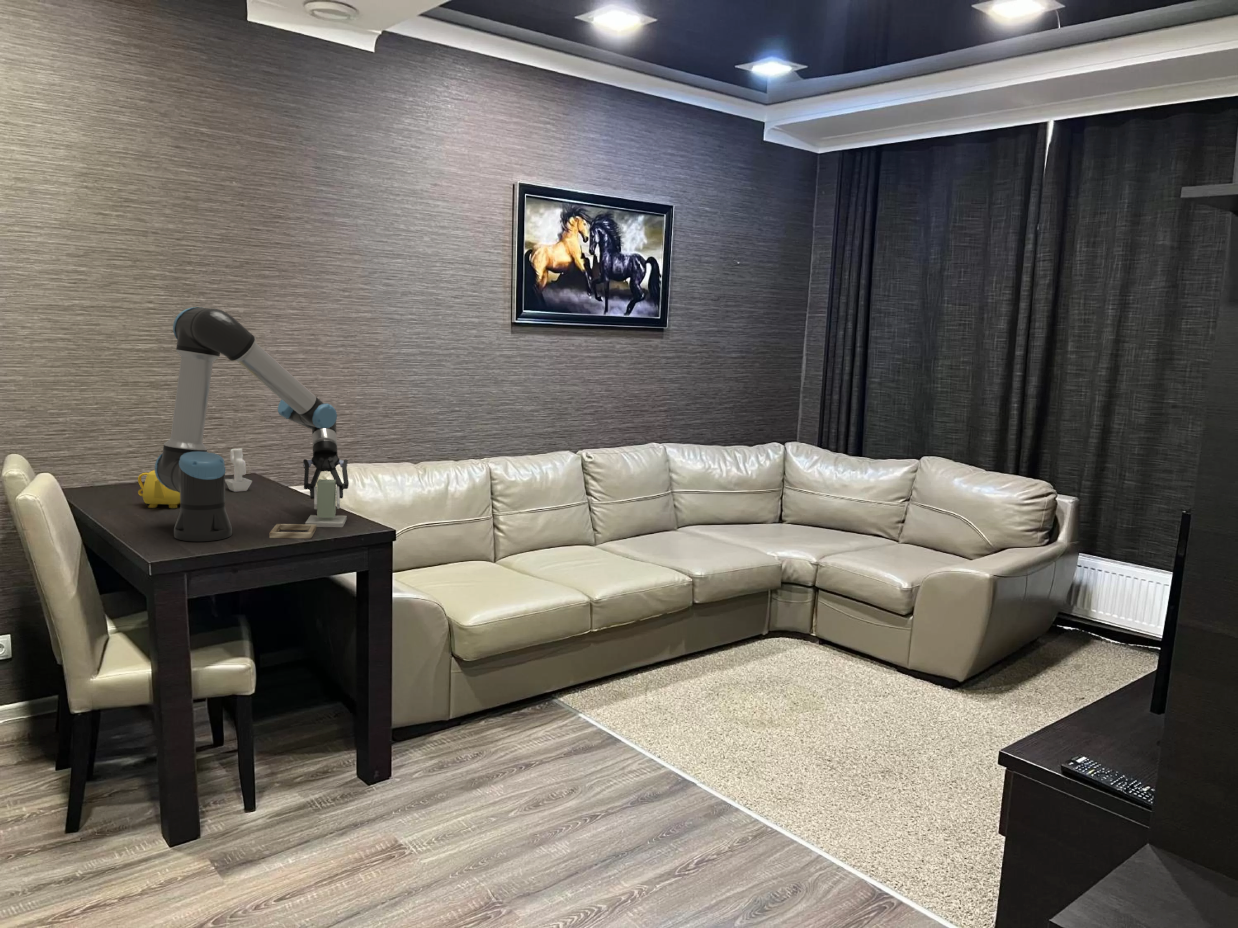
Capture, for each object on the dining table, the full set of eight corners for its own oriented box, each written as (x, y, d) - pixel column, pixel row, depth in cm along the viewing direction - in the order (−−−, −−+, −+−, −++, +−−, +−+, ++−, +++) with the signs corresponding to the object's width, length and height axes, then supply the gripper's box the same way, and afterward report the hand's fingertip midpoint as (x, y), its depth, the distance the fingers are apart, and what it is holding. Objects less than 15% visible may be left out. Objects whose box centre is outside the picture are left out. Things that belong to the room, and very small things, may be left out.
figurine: (233, 493, 319) (232, 451, 317) (222, 488, 326) (222, 447, 324) (253, 491, 324) (253, 450, 322) (243, 487, 331) (243, 446, 329)
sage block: (317, 517, 281) (317, 482, 279) (319, 513, 286) (319, 479, 284) (333, 517, 282) (334, 482, 280) (335, 513, 287) (335, 479, 285)
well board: (269, 537, 262) (269, 532, 262) (276, 528, 273) (276, 523, 273) (310, 538, 264) (310, 533, 264) (316, 529, 275) (316, 524, 275)
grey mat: (305, 526, 278) (305, 522, 277) (310, 518, 288) (310, 515, 288) (342, 527, 280) (342, 523, 280) (346, 519, 290) (346, 515, 290)
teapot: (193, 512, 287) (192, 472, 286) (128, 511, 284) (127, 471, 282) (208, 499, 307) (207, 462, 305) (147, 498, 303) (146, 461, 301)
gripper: (354, 453, 299) (358, 512, 286) (293, 452, 292) (294, 513, 279) (356, 439, 293) (359, 499, 280) (293, 438, 286) (294, 500, 274)
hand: (327, 506), depth 280 cm, fingers open, 6 cm apart
